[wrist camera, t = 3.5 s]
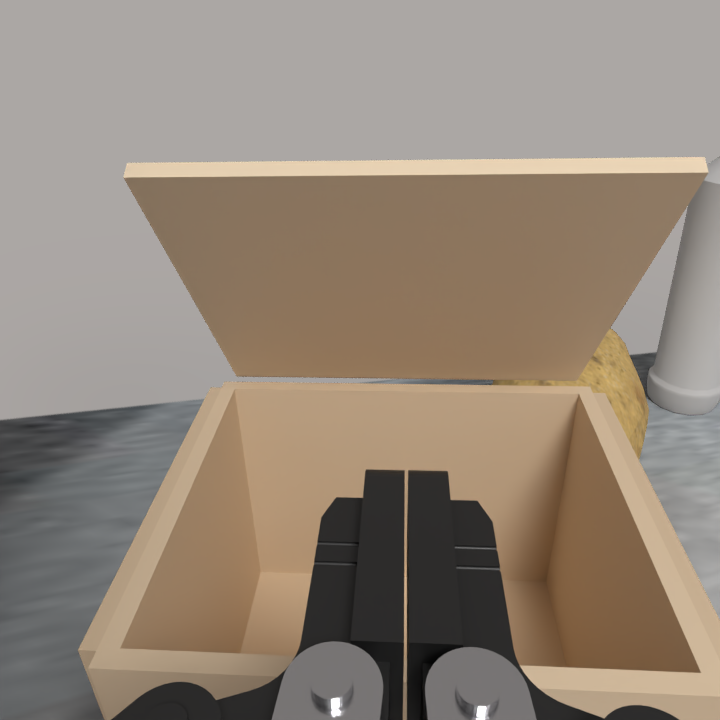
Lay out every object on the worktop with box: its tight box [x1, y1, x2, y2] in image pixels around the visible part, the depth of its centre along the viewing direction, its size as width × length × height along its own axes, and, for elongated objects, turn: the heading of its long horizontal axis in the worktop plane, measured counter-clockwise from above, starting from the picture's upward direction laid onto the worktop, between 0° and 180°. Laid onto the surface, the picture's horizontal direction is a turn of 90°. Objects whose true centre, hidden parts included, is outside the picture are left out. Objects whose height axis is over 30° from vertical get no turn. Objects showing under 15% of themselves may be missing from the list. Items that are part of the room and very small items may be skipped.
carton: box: [78, 382, 720, 720], centre depth 25 cm, size 17×14×12 cm
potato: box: [492, 328, 649, 460], centre depth 39 cm, size 10×14×10 cm
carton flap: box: [124, 157, 709, 381], centre depth 22 cm, size 15×13×1 cm
